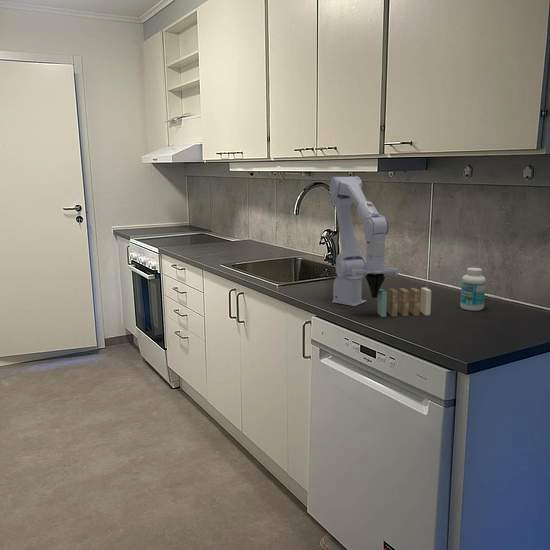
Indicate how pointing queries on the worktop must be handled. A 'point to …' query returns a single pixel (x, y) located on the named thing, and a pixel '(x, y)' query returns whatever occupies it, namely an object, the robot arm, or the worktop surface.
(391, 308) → the domino
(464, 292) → the pill bottle
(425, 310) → the domino
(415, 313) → the domino
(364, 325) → the worktop surface
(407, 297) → the domino
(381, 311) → the domino
